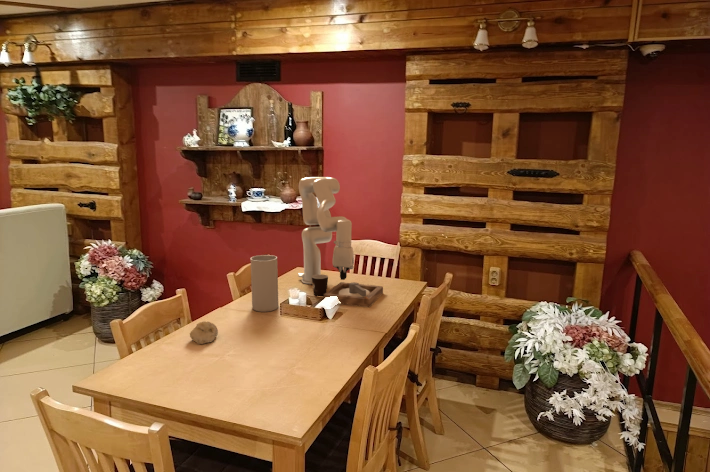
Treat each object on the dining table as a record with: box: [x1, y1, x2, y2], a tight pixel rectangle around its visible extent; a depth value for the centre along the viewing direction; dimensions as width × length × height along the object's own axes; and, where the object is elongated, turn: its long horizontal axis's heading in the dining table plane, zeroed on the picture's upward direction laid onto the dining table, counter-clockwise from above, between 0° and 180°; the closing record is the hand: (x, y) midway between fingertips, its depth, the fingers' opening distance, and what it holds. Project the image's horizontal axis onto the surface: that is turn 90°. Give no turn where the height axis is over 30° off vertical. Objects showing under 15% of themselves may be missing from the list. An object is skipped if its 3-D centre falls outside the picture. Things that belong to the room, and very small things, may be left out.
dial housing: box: [323, 281, 384, 308], centre depth 260 cm, size 24×24×4 cm
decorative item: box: [189, 321, 219, 345], centre depth 205 cm, size 12×9×10 cm
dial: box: [339, 282, 370, 297], centre depth 257 cm, size 21×16×6 cm
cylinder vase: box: [250, 254, 279, 313], centre depth 242 cm, size 12×12×25 cm
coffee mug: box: [312, 273, 329, 297], centre depth 266 cm, size 12×9×10 cm
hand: (343, 279), depth 255 cm, fingers closed
